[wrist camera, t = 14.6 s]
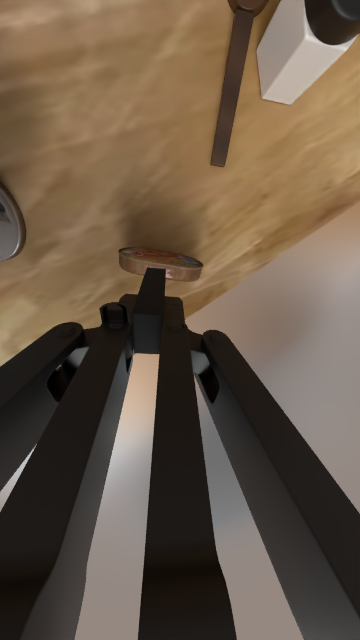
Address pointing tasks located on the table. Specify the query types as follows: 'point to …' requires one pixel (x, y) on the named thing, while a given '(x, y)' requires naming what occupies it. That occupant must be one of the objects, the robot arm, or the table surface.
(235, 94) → the serving spoon
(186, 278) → the tin
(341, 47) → the jar
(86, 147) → the table surface
